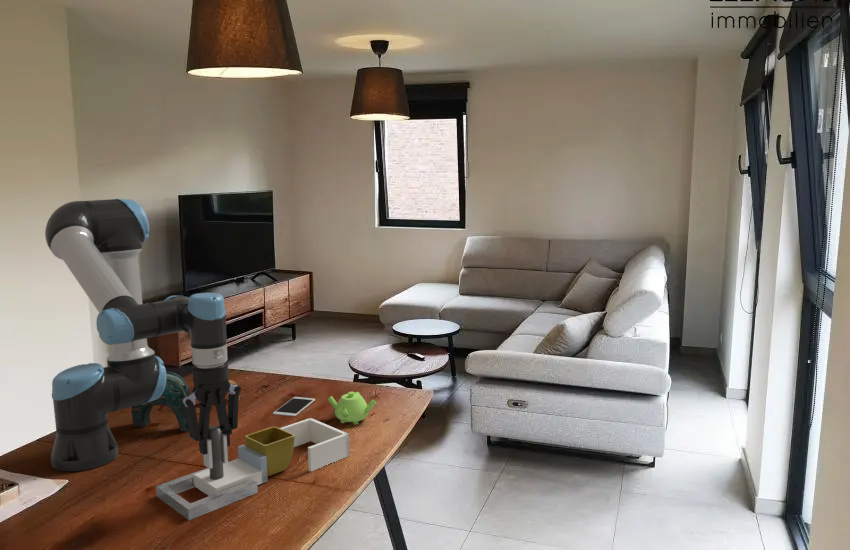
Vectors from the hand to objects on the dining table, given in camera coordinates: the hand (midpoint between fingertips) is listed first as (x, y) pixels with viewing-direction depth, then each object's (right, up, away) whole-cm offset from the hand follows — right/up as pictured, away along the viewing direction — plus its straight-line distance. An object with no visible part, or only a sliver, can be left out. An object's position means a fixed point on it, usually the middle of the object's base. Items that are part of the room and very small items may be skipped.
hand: (216, 463), depth 153 cm
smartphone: (+7, +2, +54) cm, 55 cm away
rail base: (-2, -7, -1) cm, 7 cm away
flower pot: (+10, -5, +11) cm, 16 cm away
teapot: (+26, 0, +42) cm, 49 cm away
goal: (+18, -3, +19) cm, 26 cm away
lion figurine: (-17, +3, +58) cm, 60 cm away
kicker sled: (+2, -6, +3) cm, 7 cm away
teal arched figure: (-27, -1, +39) cm, 47 cm away
